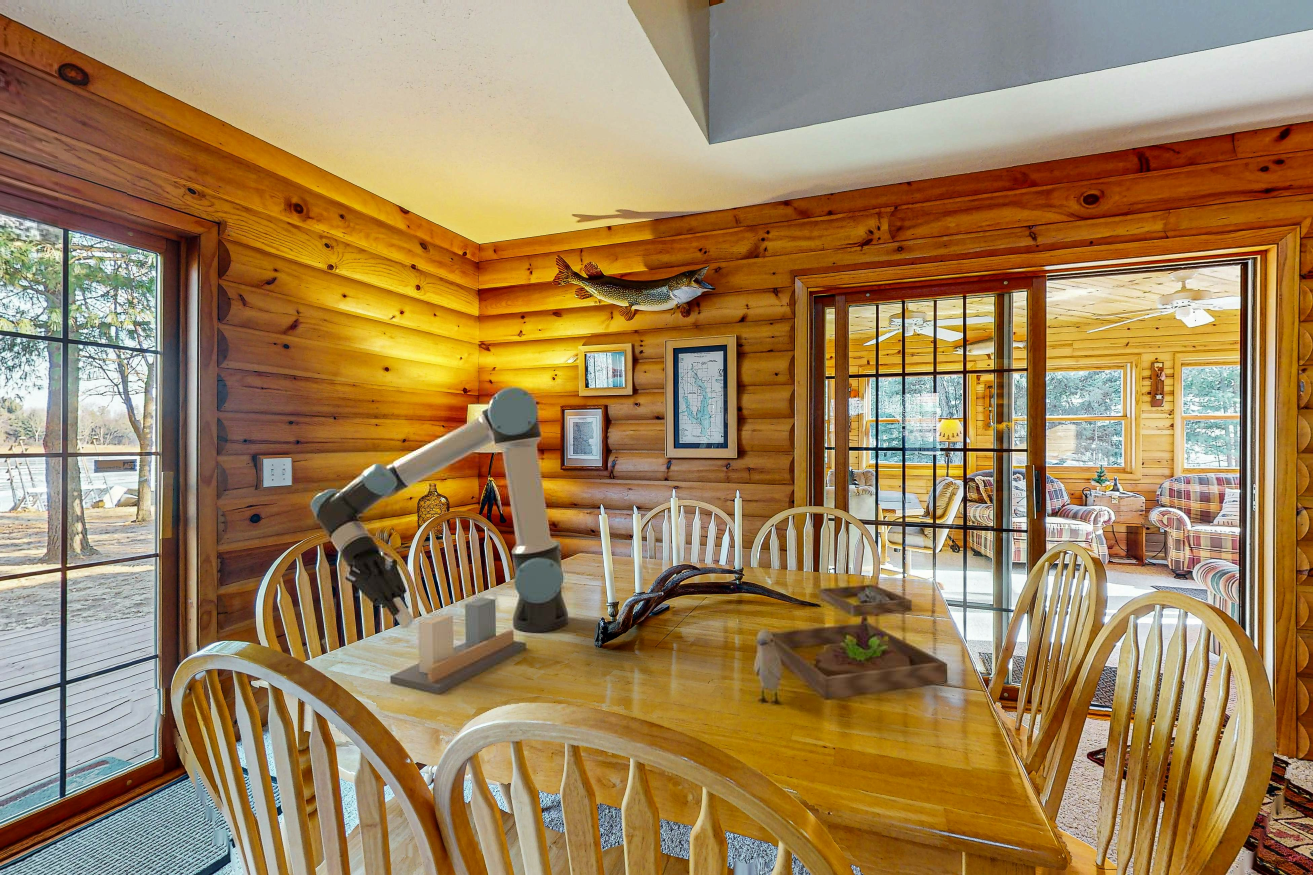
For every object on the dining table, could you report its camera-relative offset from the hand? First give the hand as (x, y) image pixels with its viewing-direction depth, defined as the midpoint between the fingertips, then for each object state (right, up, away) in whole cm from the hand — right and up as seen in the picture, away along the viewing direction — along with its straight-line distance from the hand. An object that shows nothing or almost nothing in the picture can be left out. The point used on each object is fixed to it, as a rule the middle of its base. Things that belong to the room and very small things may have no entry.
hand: (408, 623), depth 134 cm
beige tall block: (+7, -9, -3) cm, 12 cm away
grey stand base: (+11, -10, +3) cm, 16 cm away
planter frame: (+99, -9, -1) cm, 99 cm away
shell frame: (+118, -8, +45) cm, 127 cm away
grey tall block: (+14, -9, +9) cm, 19 cm away
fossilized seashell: (+122, -9, +44) cm, 130 cm away
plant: (+102, -10, -2) cm, 102 cm away
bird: (+78, -10, -19) cm, 80 cm away
